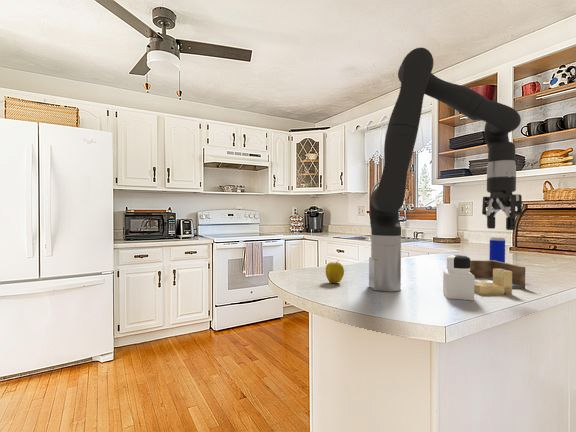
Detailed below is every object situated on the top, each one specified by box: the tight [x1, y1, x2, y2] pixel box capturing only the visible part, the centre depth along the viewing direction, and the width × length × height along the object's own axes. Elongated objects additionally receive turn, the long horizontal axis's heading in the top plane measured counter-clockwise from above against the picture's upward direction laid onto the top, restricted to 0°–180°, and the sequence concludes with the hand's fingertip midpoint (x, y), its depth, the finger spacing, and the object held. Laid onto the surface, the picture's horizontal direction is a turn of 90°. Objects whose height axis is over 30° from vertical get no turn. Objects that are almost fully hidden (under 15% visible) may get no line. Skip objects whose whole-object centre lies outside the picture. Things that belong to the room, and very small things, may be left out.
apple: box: [325, 260, 345, 284], centre depth 110 cm, size 6×6×8 cm
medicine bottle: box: [442, 254, 475, 301], centre depth 93 cm, size 7×7×12 cm
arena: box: [469, 259, 526, 290], centre depth 112 cm, size 16×15×7 cm
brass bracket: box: [474, 269, 513, 296], centre depth 99 cm, size 10×5×7 cm, turn 92°
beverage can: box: [488, 236, 506, 263], centre depth 127 cm, size 5×5×15 cm
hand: (500, 229), depth 99 cm, fingers open, 8 cm apart
